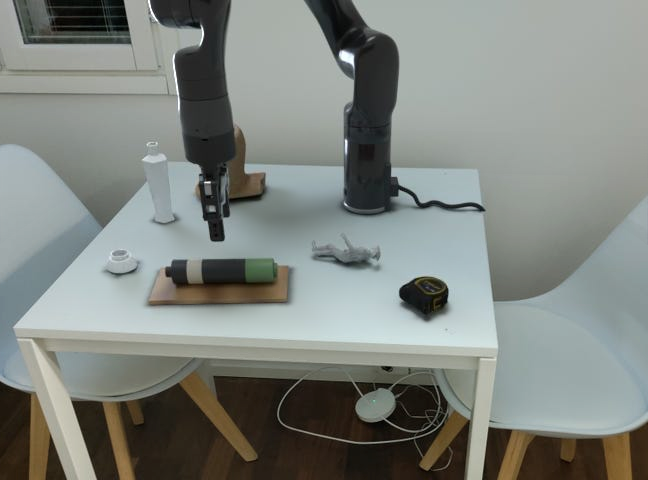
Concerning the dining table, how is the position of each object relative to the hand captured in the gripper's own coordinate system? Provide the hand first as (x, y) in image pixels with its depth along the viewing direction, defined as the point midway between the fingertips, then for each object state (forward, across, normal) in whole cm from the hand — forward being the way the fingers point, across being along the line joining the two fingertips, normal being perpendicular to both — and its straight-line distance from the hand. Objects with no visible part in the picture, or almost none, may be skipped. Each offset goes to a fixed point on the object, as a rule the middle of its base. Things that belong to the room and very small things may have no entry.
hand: (220, 228), depth 111 cm
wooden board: (+11, 0, -1) cm, 11 cm away
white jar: (+11, -7, -19) cm, 23 cm away
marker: (+10, 0, -1) cm, 10 cm away
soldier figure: (+11, -8, +20) cm, 24 cm away
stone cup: (+11, -38, -3) cm, 40 cm away
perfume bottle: (+11, -27, -15) cm, 33 cm away
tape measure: (+11, +8, +32) cm, 35 cm away
